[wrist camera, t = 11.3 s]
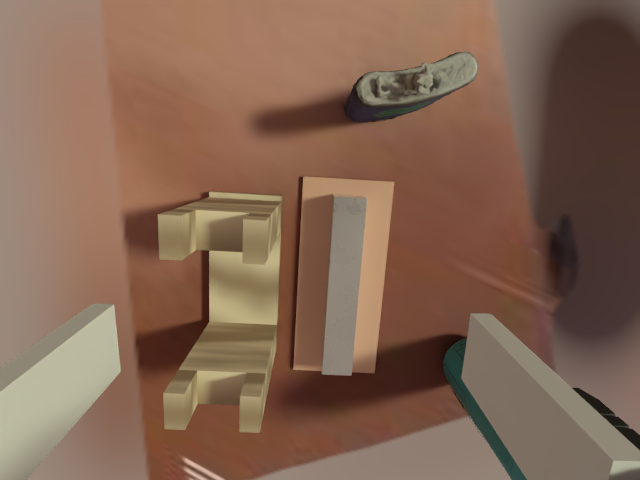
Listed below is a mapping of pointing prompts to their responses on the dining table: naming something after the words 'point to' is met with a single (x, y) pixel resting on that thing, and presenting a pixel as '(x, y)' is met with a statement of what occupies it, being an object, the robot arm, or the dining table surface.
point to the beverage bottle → (476, 408)
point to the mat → (316, 266)
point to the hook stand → (228, 303)
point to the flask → (408, 88)
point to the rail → (343, 283)
